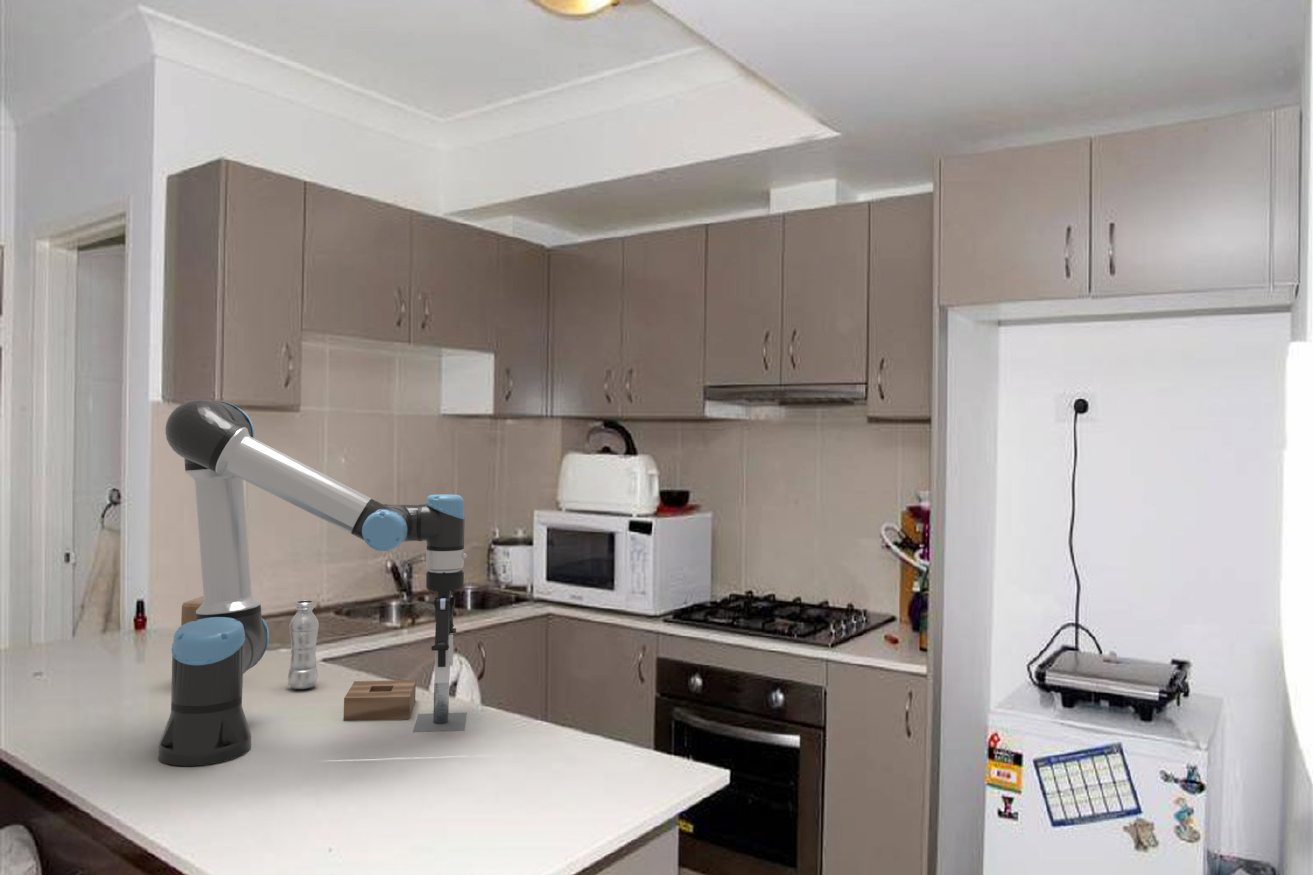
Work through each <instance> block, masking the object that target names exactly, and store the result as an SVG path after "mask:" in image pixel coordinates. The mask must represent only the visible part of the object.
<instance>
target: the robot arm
mask: <svg viewBox="0 0 1313 875" xmlns="http://www.w3.org/2000/svg"><path fill="white" fill-rule="evenodd" d="M165 436H166V438H165V439H166V440H167V443H168V444H169V446H170V448H171V450H173V452H174V453H176V454H177V455H178V456H180V457H182V458H184V459H183V460H184V470H185V472H184V473H186V474H187V475H188V476H190V478H192V479H193V480H194V487H195V498H196V499H195V501H196V513H197V514H196V515H197V529H198V541H199V552H200V556H199V557H200V565H201V566H200V568H201V581H202V582H201V583H202V593H203V594H202V595H203V596H204V602H203V604H202V605H201V606H200V607H199V608H198V609H197V610H196V618H197V621H191V622H188V623H186V624H184V625H182V626H181V625H180V626H179V627H178V628H177V629H176V630H175V632H174V635H173V639H172V640H173V641H172V645H171V654H172V655H171V656H172V660H171V661H172V662H171V692H170V694H171V695H170V699H171V700H170V714H169V717H168V720H167V722H166V725H165V727H164V730H163V733H162V736H161V738H160V741H159V744H158V755H157V756H158V760H159V761H160V762H162V763H164V764H167V765H170V766H171V765H172V766H178V767H181V766H183V767H190V766H191V767H192V766H194V767H196V766H204V765H205V766H206V765H211V764H212V765H213V764H218V763H219V764H220V763H223V762H227V761H230V760H234V759H236V758H238V757H241V756H242V755H243V756H244V755H245V754H246V753H248V752H249V751H250V749H251V747H252V734H251V731H250V730H251V729H250V727H249V724H248V720H247V717H246V715H245V711H244V708H243V682H244V681H243V679H244V674H246V672H247V671H249V670H251V669H252V668H254V667H255V666H256V665H257V664H258V662H260V660H262V658H263V656H264V655H265V653H266V651H267V649H268V646H269V644H270V643H269V642H270V630H269V626H268V625H267V622H266V620H264V618H263V617H262V605H261V601H260V600H258V599H257V598H256V597H254V596H253V595H252V592H253V591H252V581H251V579H252V578H251V568H250V555H249V542H248V526H247V515H246V499H245V488H244V481H245V482H248V483H249V484H252V485H253V486H256V487H258V488H259V489H262V490H263V491H265V492H267V493H270V494H271V495H274V496H275V497H278V498H279V499H282V500H283V501H285V502H288V503H290V504H291V505H292V506H295V507H298V508H299V509H301V510H304V511H305V512H308V513H310V514H312V515H314V516H316V517H318V518H320V519H321V520H324V521H326V522H327V523H329V524H332V525H333V526H335V527H337V528H340V529H341V530H344V531H345V532H348V533H350V534H351V535H354V536H355V537H356V538H359V539H361V540H362V541H364V542H365V543H366V544H367V546H368V547H369V548H371V549H372V550H375V551H378V552H386V551H390V550H391V551H392V550H395V549H396V548H398V547H400V546H401V544H402V543H404V542H405V543H406V542H426V549H425V551H426V552H425V553H426V554H425V569H427V570H428V571H426V573H425V574H426V575H425V581H426V582H425V588H426V589H427V590H428V591H430V592H437V593H438V597H437V596H436V597H435V598H434V601H433V603H434V604H433V605H434V618H435V630H434V631H435V634H434V637H435V638H434V644H433V645H431V649H430V650H431V651H434V677H435V683H449V684H450V677H449V662H450V667H451V666H454V665H453V664H454V663H453V662H454V656H453V655H454V654H453V653H454V634H456V633H457V628H456V627H454V626H455V624H454V614H455V605H456V597H455V596H454V595H453V593H454V592H455V591H460V590H462V589H463V588H464V586H465V584H464V582H465V581H464V580H465V579H464V578H465V577H464V576H465V574H464V573H465V572H464V570H462V569H463V568H464V565H465V564H464V563H465V562H464V559H466V558H467V557H468V554H467V553H465V552H464V551H465V549H464V548H465V519H466V517H465V501H464V500H465V499H464V498H463V496H461V495H459V494H449V493H448V494H447V493H445V494H429V495H428V496H427V498H426V499H427V500H426V502H425V503H423V504H387V503H381V502H379V501H377V500H375V499H372V498H371V497H369V496H368V495H366V494H364V493H361V492H360V491H358V490H355V489H354V488H351V487H350V486H348V485H346V484H344V483H342V482H340V481H338V480H336V479H335V478H332V477H330V476H329V475H326V474H325V473H322V472H321V471H319V470H317V469H315V468H313V467H311V466H309V465H307V464H305V463H303V462H301V461H299V460H297V459H295V458H293V457H291V456H289V455H287V454H285V453H283V452H282V451H279V450H278V449H276V448H273V447H272V446H270V445H268V444H266V443H264V442H262V441H261V440H258V439H257V438H255V428H254V424H253V422H252V419H251V418H250V416H249V415H248V414H247V413H246V412H245V411H244V410H243V409H241V408H239V407H238V406H236V405H235V404H233V403H229V402H226V401H215V400H208V399H193V400H189V401H186V402H183V403H181V404H180V405H178V406H177V407H176V408H175V409H173V411H172V412H171V413H170V415H169V416H168V419H167V421H166V423H165Z"/></svg>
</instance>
